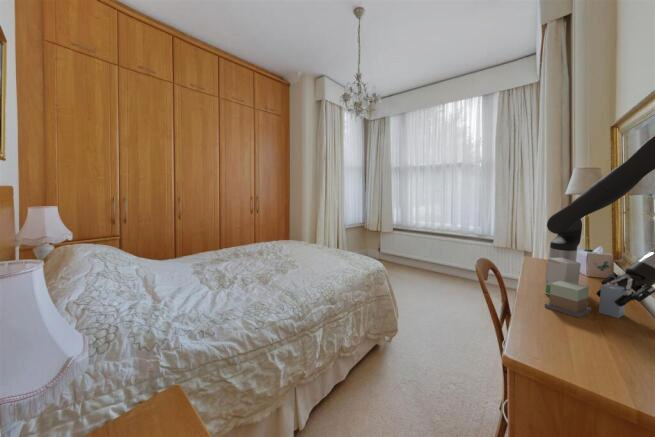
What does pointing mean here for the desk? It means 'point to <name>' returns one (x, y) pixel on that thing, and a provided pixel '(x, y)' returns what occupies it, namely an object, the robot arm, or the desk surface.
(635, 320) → the desk surface
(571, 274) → the skincare box
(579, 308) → the tower base
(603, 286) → the slate column brick
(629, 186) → the robot arm
